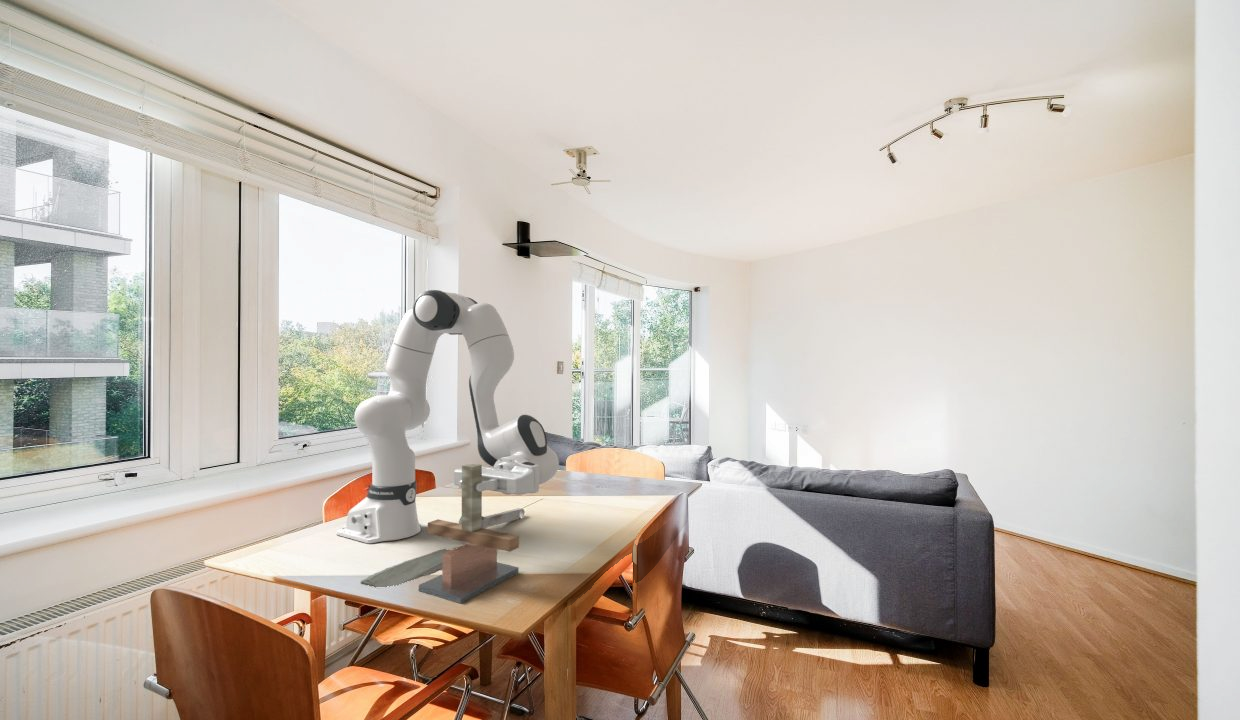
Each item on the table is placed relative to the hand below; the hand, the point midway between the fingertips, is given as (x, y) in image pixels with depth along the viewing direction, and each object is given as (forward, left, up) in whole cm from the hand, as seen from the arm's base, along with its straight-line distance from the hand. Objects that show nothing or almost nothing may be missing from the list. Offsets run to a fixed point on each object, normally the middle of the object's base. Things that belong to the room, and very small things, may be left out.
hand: (468, 486), depth 118 cm
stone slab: (-16, +2, -22) cm, 27 cm away
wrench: (-15, +34, -21) cm, 43 cm away
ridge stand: (0, +1, -21) cm, 21 cm away
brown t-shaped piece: (0, +1, -12) cm, 12 cm away
